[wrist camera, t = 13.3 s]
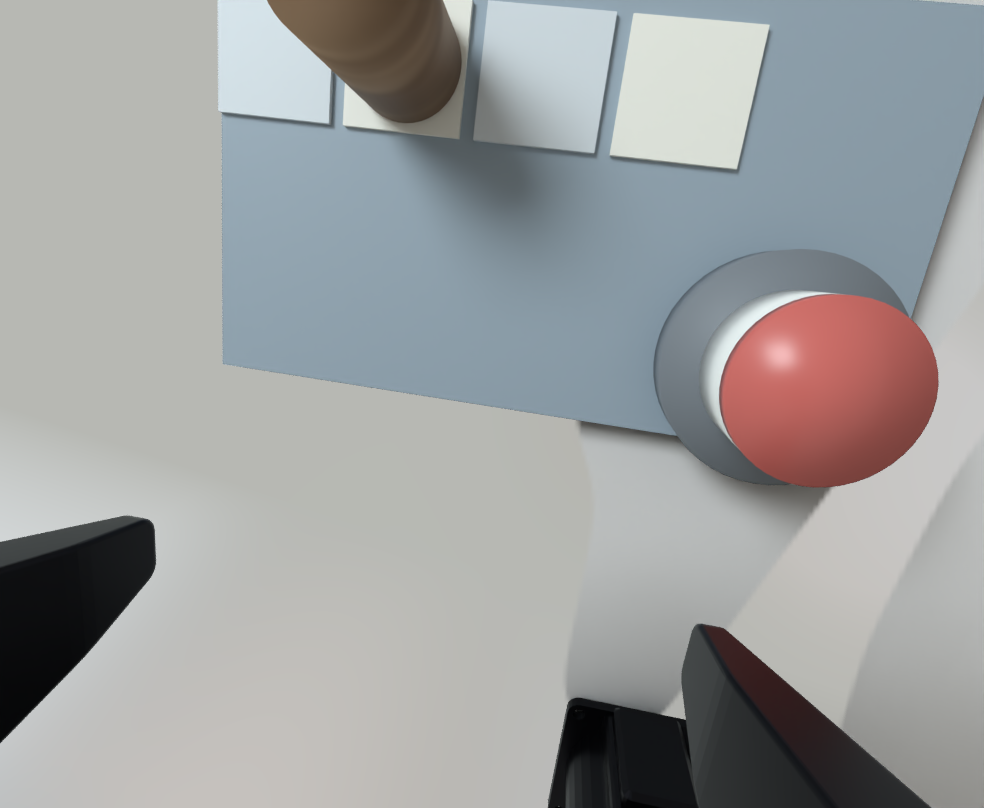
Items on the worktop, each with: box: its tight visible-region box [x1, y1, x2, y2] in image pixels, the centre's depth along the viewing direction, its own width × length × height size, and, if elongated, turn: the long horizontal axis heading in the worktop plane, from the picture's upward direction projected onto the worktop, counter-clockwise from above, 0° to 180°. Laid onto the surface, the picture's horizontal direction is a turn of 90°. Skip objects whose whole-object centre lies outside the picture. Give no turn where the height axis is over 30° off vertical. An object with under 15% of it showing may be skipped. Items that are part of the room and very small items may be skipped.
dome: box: [699, 290, 938, 487], centre depth 16 cm, size 5×5×3 cm
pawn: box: [267, 0, 462, 123], centre depth 15 cm, size 4×4×6 cm
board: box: [218, 0, 984, 485], centre depth 18 cm, size 15×24×2 cm, turn 83°
